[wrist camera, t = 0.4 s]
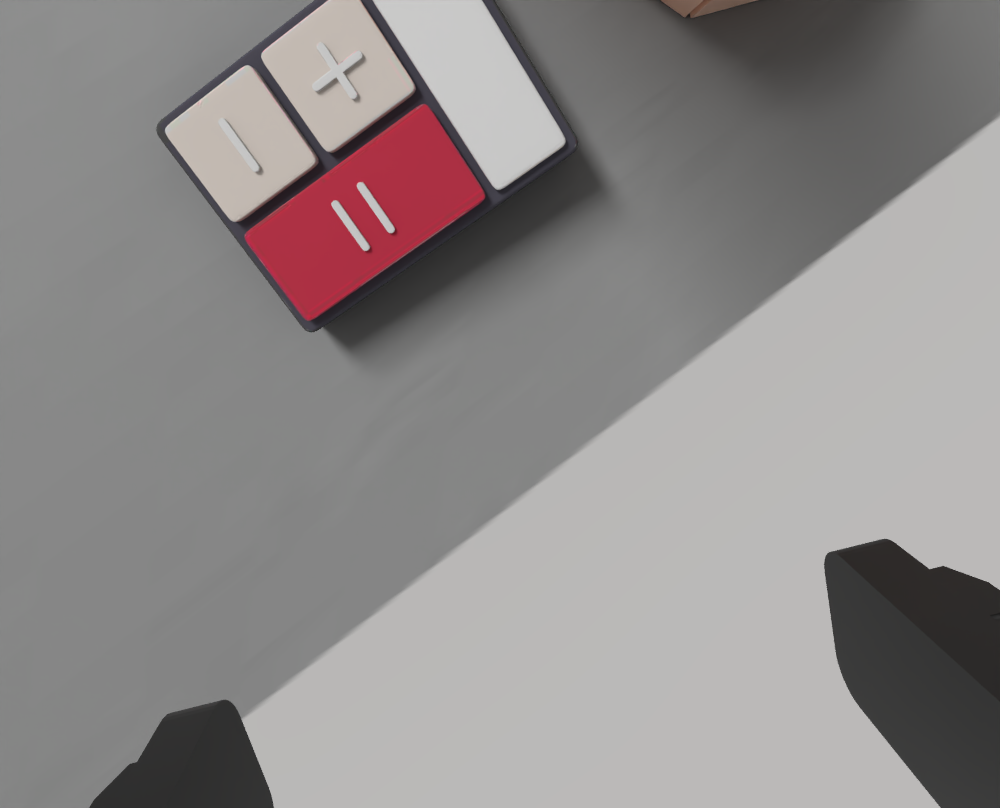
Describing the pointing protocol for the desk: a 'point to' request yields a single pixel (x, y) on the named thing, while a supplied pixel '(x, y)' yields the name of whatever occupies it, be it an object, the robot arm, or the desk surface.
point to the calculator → (366, 141)
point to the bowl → (702, 6)
